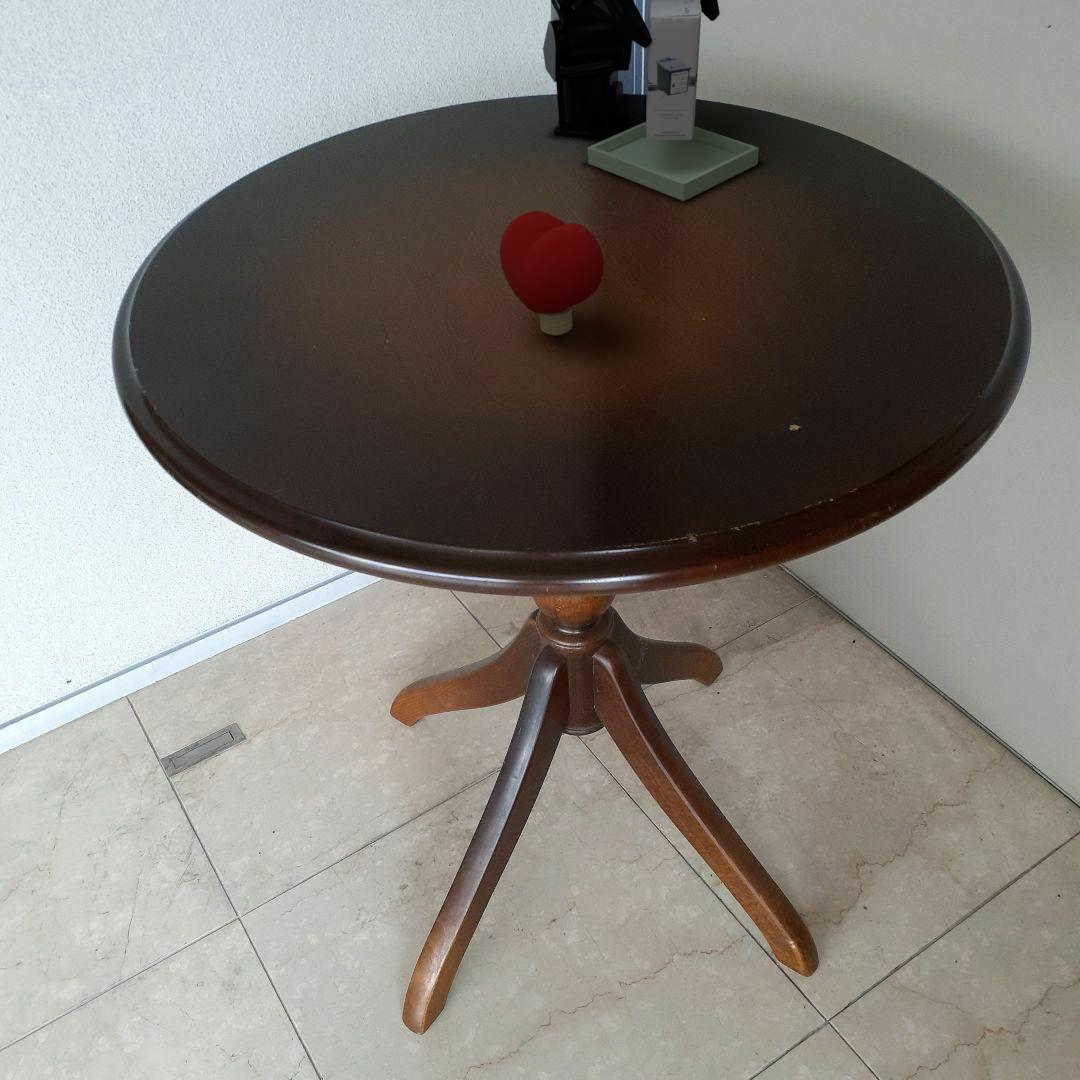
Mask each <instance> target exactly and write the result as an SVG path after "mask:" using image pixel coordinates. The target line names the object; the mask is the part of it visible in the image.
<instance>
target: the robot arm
mask: <svg viewBox="0 0 1080 1080" xmlns="http://www.w3.org/2000/svg"><path fill="white" fill-rule="evenodd" d="M700 4H701V11H702V12H701V14H703V15H704V16H705V17H706V18H707V19H708V20H710V22H714V21H716V20H717V19H718V18H719V16H720V14H721V13H720V11H721V10H720V7H719V1H718V0H700ZM633 42H634V43H636V44H637V45H638V46H640V47H642V48H643V49H647V47H648V46H649V45H650V44H651V43H652V38H651V35H650V33H649V31H648V25H647V24H646V22H645V20H644V18H643V16H642V14H641V12H640V11H639V9H638V6H637V5H636V3H635V1H634V0H550V20H549V21H548V22H547V26H546V33H545V37H544V42H543V47H542V52H543V59H544V68H545V71H546V72H547V74H548V75H549V77H550V78H551V79H552V81H553V83H556V84H555V85H556V99H557V113H558V123H557V125H556V126H555V127H554V128H553V134H554V135H558V136H572V137H586V138H600V139H608V138H610V136H611V134H612V133H613V132H614V131H615V129H616V128H618V126H619V124H620V123H621V122H622V121H623V120H624V118H625V112H624V83H623V81H622V80H619V72H620V71H624V72H625V71H629V70H630V64H631V59H632V49H633Z"/></svg>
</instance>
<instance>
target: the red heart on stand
mask: <svg viewBox="0 0 1080 1080" xmlns="http://www.w3.org/2000/svg"><path fill="white" fill-rule="evenodd" d="M594 235H595V234H593V233H592V232H591V231H590V230H589V229H588V228H587V227H586V226H584V225H582V224H579V223H576V222H575V223H573V222H571V223H565V221H563V220H561V219H560V218H558V217H556V216H554V215H552V214H551V213H548V212H544V211H539V210H534V211H533V210H532V211H528V212H524V213H522V214H520V215H518V216H516V217H515V218H514V219H513V220H512V221H511V222H509V224H508V225H507V227H506V228H505V230H504V232H503V234H502V236H501V240H500V245H499V259H500V260H499V261H500V266H501V270H502V273H503V275H504V277H505V280H506V282H507V284H508V285H509V287H510V288H511V290H512V292H513V293H514V296H516V297H517V298H518V300H519V301H520V302H521V303H522V304H523V305H524V306H525V308H527V310H528V311H530V312H533V313H536V314H539V324H540V329H541V331H542V333H545V334H547V335H550V336H552V337H554V338H560V337H562V336H563V335H565V334H566V333H567V332H569V331H571V329H572V328H573V324H574V323H573V315H572V312H573V311H572V310H573V306H576V305H579V304H581V303H583V302H585V301H586V300H588V299H589V298H590V297H592V295H594V293H595V292H596V291H597V290H598V288H599V286H600V284H601V283H602V279H603V275H604V270H605V260H604V254H603V251H602V248H601V246H600V244H599V242H598V240H597V238H596V237H595V236H594Z"/></svg>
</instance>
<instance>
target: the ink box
mask: <svg viewBox="0 0 1080 1080" xmlns="http://www.w3.org/2000/svg"><path fill="white" fill-rule="evenodd" d="M647 19H648V20H647V28H648V31H649V33H650V35H651V38H652V43H651V44H650V45H649V46H648V47H647V48H646V111H645V112H646V113H645V114H646V115H645V116H646V120H645V122H646V139H647V140H691V139H693V135H694V126H695V117H696V103H697V92H698V91H697V90H698V89H697V88H698V74H699V73H698V72H699V61H700V60H699V58H700V43H701V24H702V11H701V4H700V0H648V18H647Z"/></svg>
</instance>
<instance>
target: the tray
mask: <svg viewBox="0 0 1080 1080" xmlns="http://www.w3.org/2000/svg"><path fill="white" fill-rule="evenodd" d="M759 149H760V148H759V147H758V146H755V145H752V144H749V143H747V142H746V143H745V142H743V141H740V140H737V139H734V138H731V137H728V136H725V135H722V134H719V133H716V132H713V131H710V130H707V129H704V128H701V127H698V126H695V125H694V135H693V139H691V140H647V139H646V121H644V122H642V123H640V124H638V125H635V126H633V127H631V128H629V129H626V130H624V131H622V132H619V133H617V134H615V135H612V136H609V137H607V138H605V139H604V140H601V141H599V142H596V143H595V144H594V143H593V144H591V145H590V146H588V147H587V161H588V165H591V166H593V167H596V168H598V169H601V170H603V171H605V172H609V173H611V174H614V175H616V176H619V177H622V178H624V179H626V180H628V181H631V182H634V183H636V184H639V185H642V186H644V187H645V188H646V187H647V188H649V189H651V190H653V191H657V192H659V193H661V194H665V195H667V196H669V197H672V198H674V199H677V200H680V201H682V202H685V201H688V200H689V199H692V198H693V197H694V196H697V195H699V194H701V193H703V192H705V191H708V190H709V189H711V188H714V187H715V186H717V185H719V184H721V183H724V182H725V181H727V180H729V179H731V178H733V177H736V176H737V175H740V174H741V173H744V172H745V171H747V170H750V169H751V168H753V167H755V166H757V165H758V163H759V160H758V159H759Z"/></svg>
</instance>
